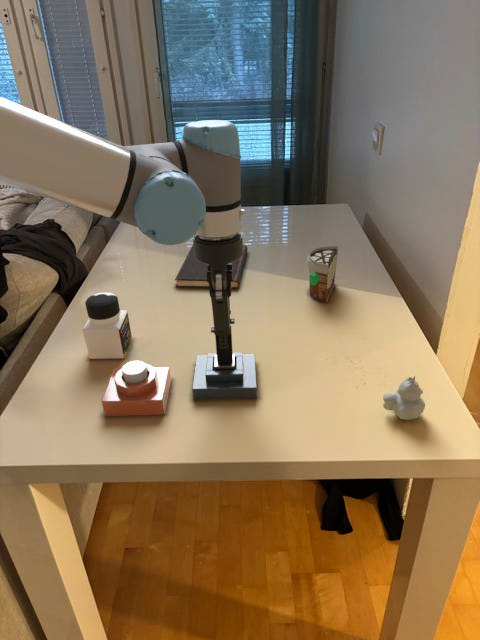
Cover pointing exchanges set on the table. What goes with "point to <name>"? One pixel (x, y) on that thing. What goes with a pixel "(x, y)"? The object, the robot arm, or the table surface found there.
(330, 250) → the food container
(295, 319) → the table surface
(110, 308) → the medicine bottle
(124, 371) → the white round push button
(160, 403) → the orange button base
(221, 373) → the push button base
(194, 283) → the hardcover book
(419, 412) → the white lumpy figurine
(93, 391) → the table surface
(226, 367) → the pump square
